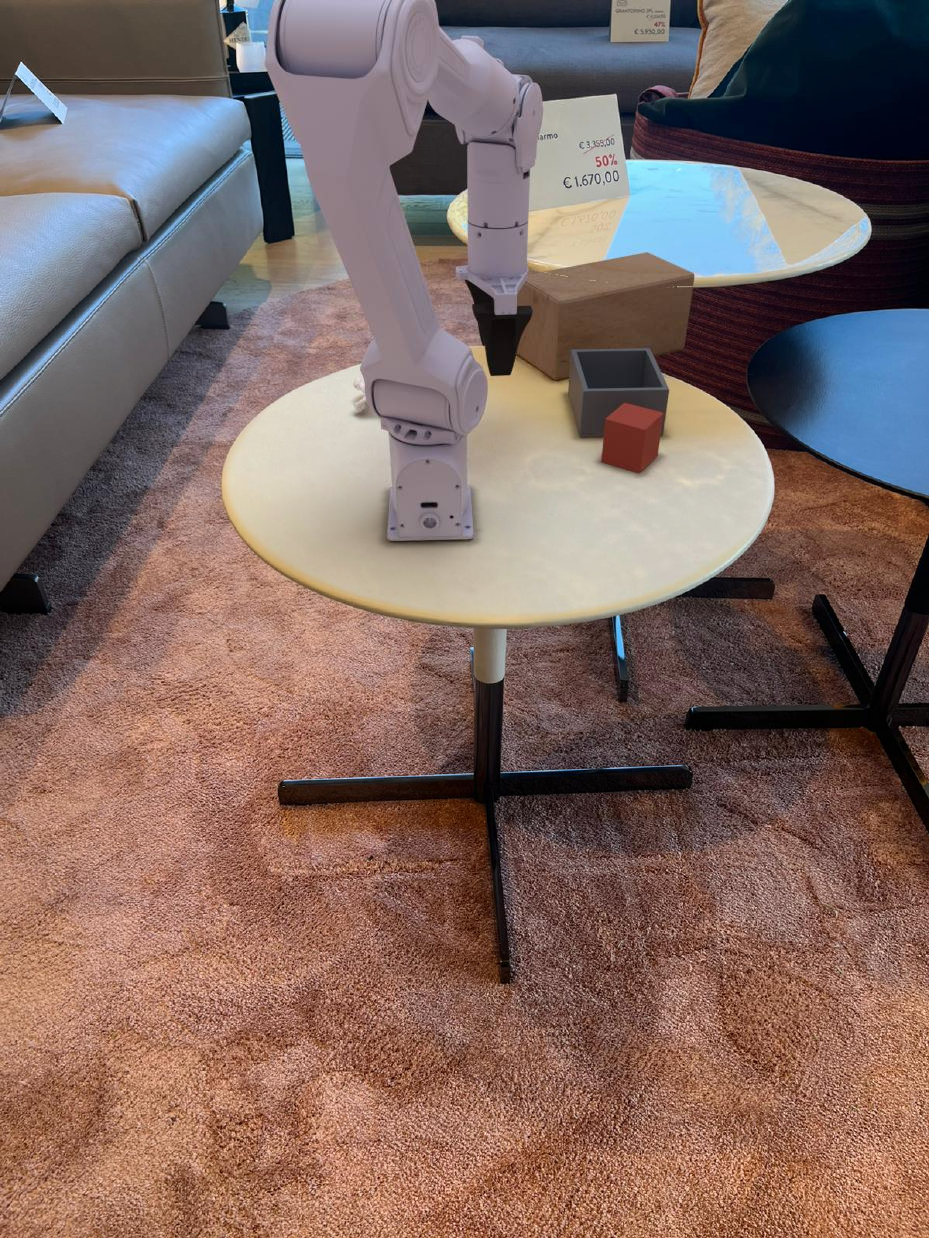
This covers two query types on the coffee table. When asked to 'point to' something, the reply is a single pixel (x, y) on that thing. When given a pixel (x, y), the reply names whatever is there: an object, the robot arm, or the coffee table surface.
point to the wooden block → (604, 310)
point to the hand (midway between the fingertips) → (495, 359)
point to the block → (631, 437)
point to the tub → (613, 385)
